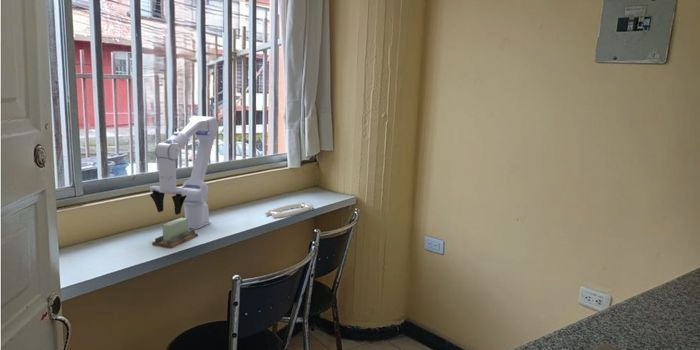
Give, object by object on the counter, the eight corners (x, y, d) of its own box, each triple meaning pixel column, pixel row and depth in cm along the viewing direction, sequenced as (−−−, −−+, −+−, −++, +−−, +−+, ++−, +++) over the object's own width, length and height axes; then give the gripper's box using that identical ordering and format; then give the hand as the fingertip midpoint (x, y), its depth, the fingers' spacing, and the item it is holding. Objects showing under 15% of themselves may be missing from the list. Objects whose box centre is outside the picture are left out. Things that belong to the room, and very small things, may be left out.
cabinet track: (180, 232, 186) (180, 226, 185) (198, 235, 183) (197, 229, 183) (152, 244, 172) (152, 238, 172) (171, 248, 169) (170, 241, 169)
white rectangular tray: (261, 216, 214) (302, 205, 232) (276, 220, 207) (317, 210, 226) (261, 210, 213) (302, 200, 232) (276, 214, 207) (317, 204, 226)
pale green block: (181, 233, 183) (181, 217, 182) (188, 234, 182) (187, 218, 181) (163, 240, 173) (162, 224, 172) (170, 242, 172) (169, 225, 171)
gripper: (143, 176, 175) (145, 213, 177) (177, 180, 170) (178, 217, 173) (156, 172, 181) (158, 208, 184) (190, 176, 177) (191, 212, 180)
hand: (169, 212), depth 179 cm, fingers open, 7 cm apart
